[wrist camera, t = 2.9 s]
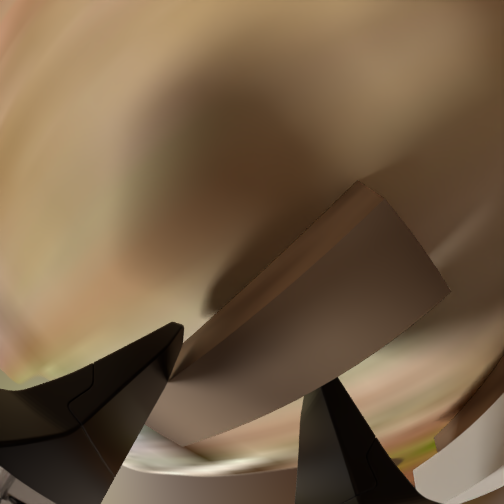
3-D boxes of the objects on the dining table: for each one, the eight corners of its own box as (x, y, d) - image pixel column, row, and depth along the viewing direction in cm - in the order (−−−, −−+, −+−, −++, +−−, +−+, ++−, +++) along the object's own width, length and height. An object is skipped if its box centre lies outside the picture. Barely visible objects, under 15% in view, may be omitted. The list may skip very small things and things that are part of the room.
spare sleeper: (198, 403, 12) (182, 446, 10) (150, 369, 12) (126, 411, 9) (413, 248, 8) (451, 291, 5) (355, 179, 7) (384, 198, 5)
